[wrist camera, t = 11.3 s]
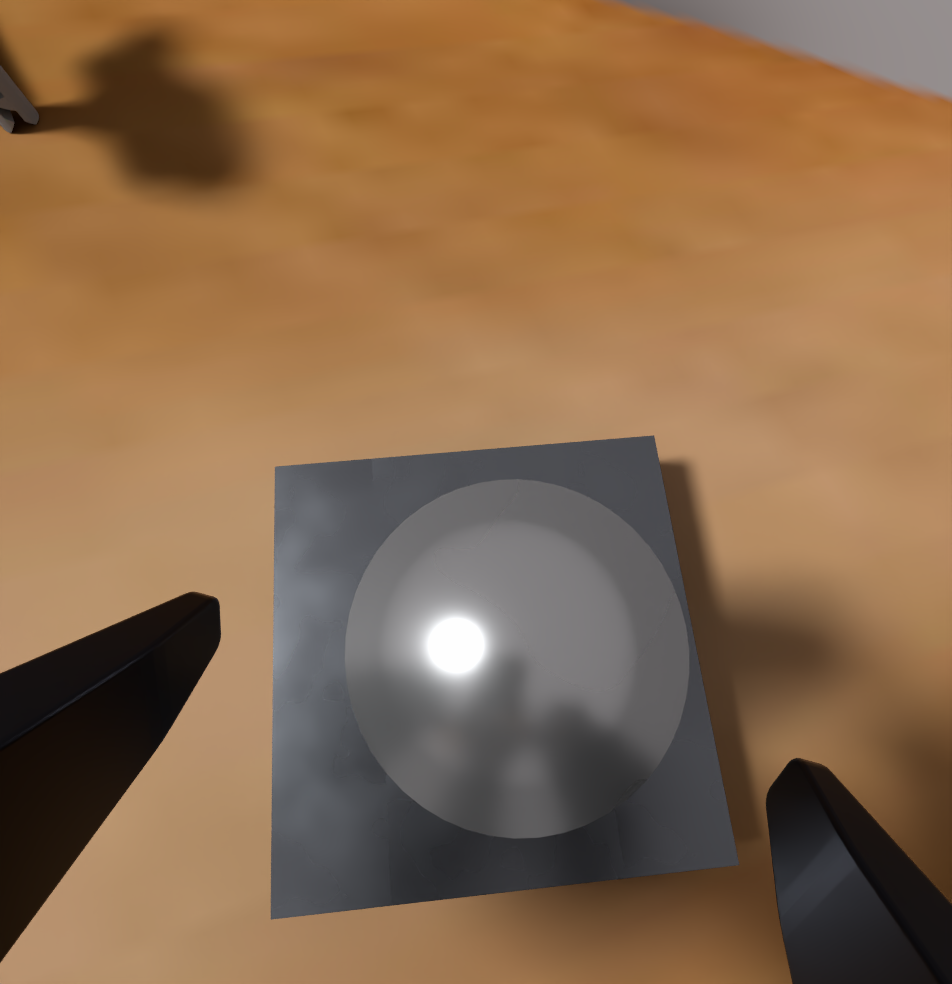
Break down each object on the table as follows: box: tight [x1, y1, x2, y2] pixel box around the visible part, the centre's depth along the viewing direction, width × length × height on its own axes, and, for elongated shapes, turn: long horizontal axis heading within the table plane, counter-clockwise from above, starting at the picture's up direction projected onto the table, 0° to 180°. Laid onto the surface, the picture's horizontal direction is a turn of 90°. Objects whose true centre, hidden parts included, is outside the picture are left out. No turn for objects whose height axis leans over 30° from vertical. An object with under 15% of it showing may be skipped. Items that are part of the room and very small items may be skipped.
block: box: [271, 436, 739, 919], centre depth 17 cm, size 12×12×2 cm
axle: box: [345, 479, 689, 839], centre depth 12 cm, size 4×4×13 cm
